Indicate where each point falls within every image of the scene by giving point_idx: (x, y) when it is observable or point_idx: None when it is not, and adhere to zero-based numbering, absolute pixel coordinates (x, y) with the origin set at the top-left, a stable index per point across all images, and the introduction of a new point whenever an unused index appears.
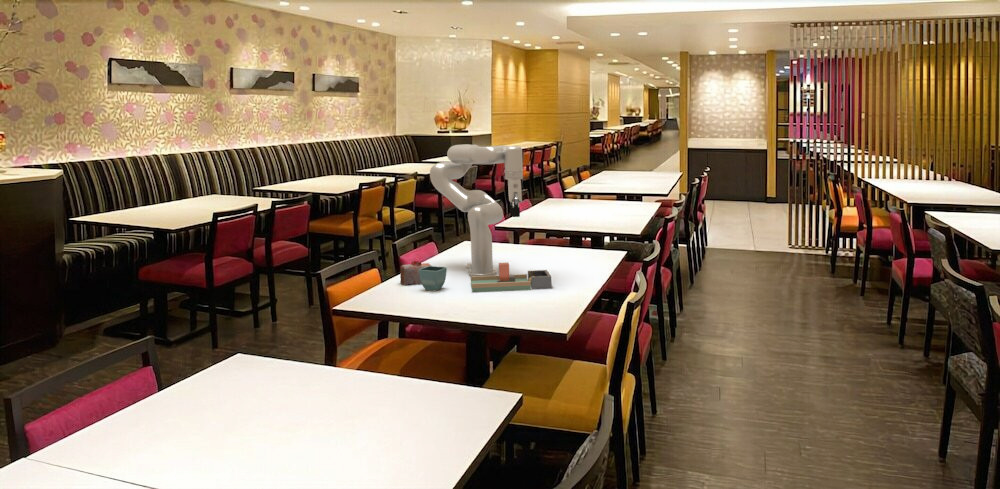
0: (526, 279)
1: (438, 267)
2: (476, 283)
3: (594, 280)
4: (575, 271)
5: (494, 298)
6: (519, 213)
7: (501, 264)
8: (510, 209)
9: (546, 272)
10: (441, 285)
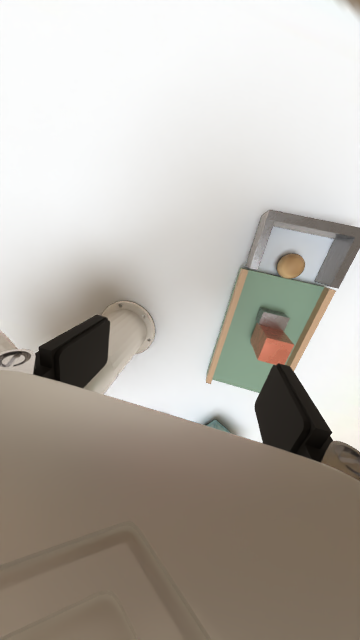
0: (260, 275)
1: None
2: None
3: (336, 38)
4: (174, 68)
5: (347, 376)
6: (298, 382)
7: (283, 361)
8: (87, 383)
9: (303, 223)
10: (221, 426)
